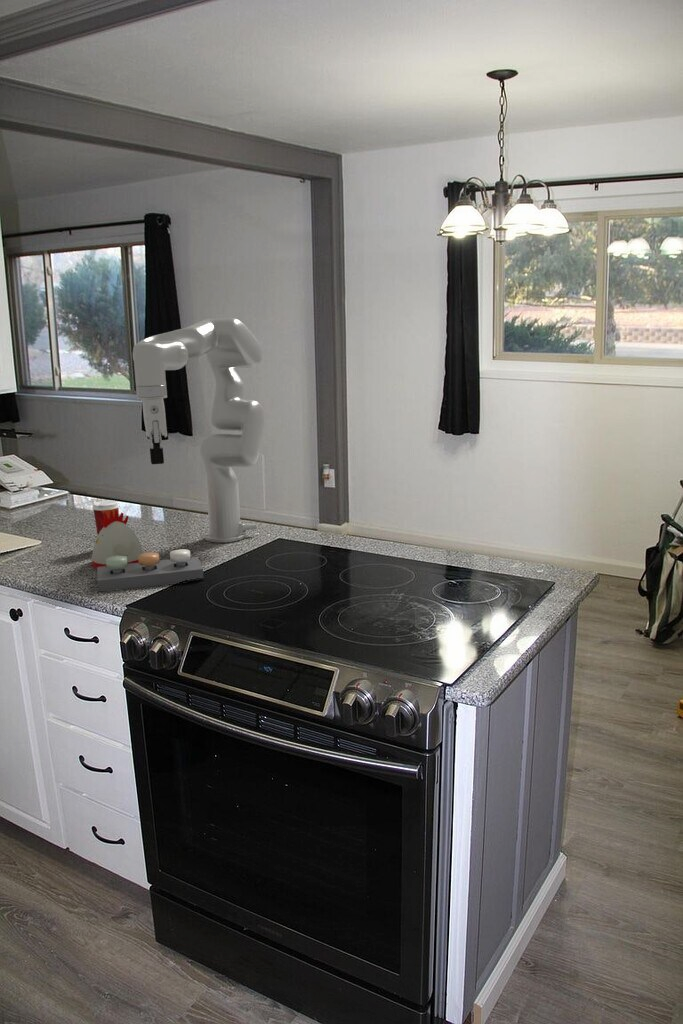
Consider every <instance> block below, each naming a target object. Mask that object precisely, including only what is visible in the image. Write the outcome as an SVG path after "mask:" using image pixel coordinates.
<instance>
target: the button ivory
mask: <svg viewBox="0 0 683 1024" xmlns="http://www.w3.org/2000/svg"><path fill="white" fill-rule="evenodd" d="M169 557H170V558H169V560H170V561H171V562H176V567H183V566H186V564H185V562H186V561H189V560H190V559H191V558H190V557H191V550H189V549H185V548H184V549H175V550H171V551H170V552H169Z"/></svg>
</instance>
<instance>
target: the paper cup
mask: <svg viewBox="0 0 683 1024" xmlns="http://www.w3.org/2000/svg"><path fill="white" fill-rule="evenodd" d="M92 505H93V506H92V510H93V514H94V520H95V526H96V528H95V529H96V534H97V535H98V534H99V532H100V531H101V530H102V528H103V527H104V526H103V525H102V523H101V521H100V520H99V518H101V519H102V520H104V512H105V513H106V515H107V517H108V519H109V517H110V511H112V512H113V516H115V510H117V511H118V514H119V515H120V513H119V512H120V511H119V508H120V505H119V503H118V501H116V500H101V501H96V502H93V504H92Z"/></svg>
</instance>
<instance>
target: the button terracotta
mask: <svg viewBox="0 0 683 1024" xmlns="http://www.w3.org/2000/svg"><path fill="white" fill-rule="evenodd" d="M138 560H139V565H142V566H145V570H154V565H155V564H158V563H159V561H160V555H159V553H158V552H143V554H140V555H139V556H138Z"/></svg>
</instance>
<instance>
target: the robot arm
mask: <svg viewBox="0 0 683 1024" xmlns="http://www.w3.org/2000/svg"><path fill="white" fill-rule="evenodd" d="M205 354H206V355H205ZM204 355H205V356H206V359H207V361H208V364H209V366H210V368H211V371H212V373H213V377H214V380H215V391H214V397H213V404H212V410H211V416H210V417H211V418H210V421H211V425H212V427H213V428H214V429H215V430H217V431H220V432H221V431H222V432H237V433H239V432H240V433H241V434H231V433H213V434H209V435H207V436H205V437H204V438H202V441H201V442H200V445H199V447H200V448H199V451H200V452H199V453H200V457H201V461H202V465H203V469H204V474H205V487H206V501H207V502H206V503H207V515H208V516H207V517H208V529H209V530H208V532H206V533H204V540H205V541H207V542H210V543H219V544H220V543H221V544H222V543H233V542H237V541H241V540H243V539H245V538H246V537H247V531H254V530H255V531H256V530H257V523H251V522H246V523H244V522H243V521H241V511H240V510H241V509H240V496H239V495H240V494H239V479H238V477H237V475H236V472H235V471H234V470H233V468H235V467H236V468H251V467H253V466H254V465H255V464H256V463H257V462H258V459H259V456H260V452H261V451H260V450H261V445H262V444H261V442H262V438H263V437H262V436H263V430H264V426H265V425H264V424H265V414H264V409H263V407H262V405H261V403H260V402H259V401H257V400H254V399H244V395H245V394H244V392H245V384H244V382H243V380H242V378H241V376H240V375H239V373H237V371H236V369H253V368H255V367H257V366H259V364H260V363H261V362H262V358H263V350H262V346H261V343H260V342H259V341H258V338H256V337H255V335H254V334H253V333H252V331H250V329H249V327H247V326H246V325H245V323H243V322H242V321H241V320H239V319H238V318H234V317H220V318H219V317H218V318H214V317H213V318H206V319H203V320H200V321H198V322H196V323H194V324H192V325H190V326H189V325H188V326H186V327H184V328H178V329H174V330H172V331H167V332H163V333H159V334H155V335H151V336H148V337H145V338H144V339H142V340H140V341H138V342H137V343H135V345H134V346H133V349H132V359H133V365H134V377H135V389H136V398H137V400H141V401H142V402H141V403H142V412H143V414H142V415H143V422H144V427H145V433H146V436H147V437H148V439H149V444H150V445H149V447H150V448H149V455H150V464H151V465H163V464H164V463H165V461H164V460H165V457H164V448H163V442H162V436H164V438H167V437H168V430H167V429H168V427H167V419H166V408H165V407H166V406H165V401H164V399H167V398H168V390H167V380H166V379H167V378H166V371H176V370H177V371H178V370H180V369H183V368H184V367H185V366H186V365H187V362H188V360H191V359H192V360H193V359H196V358H198V357H201V356H204Z"/></svg>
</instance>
